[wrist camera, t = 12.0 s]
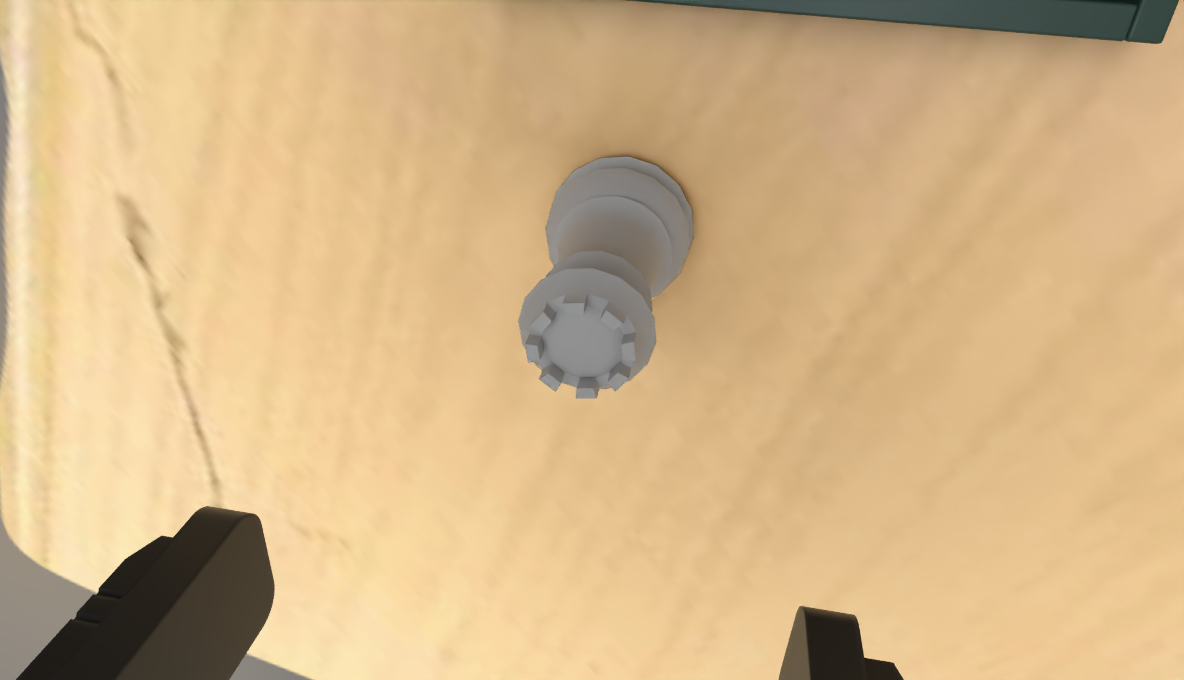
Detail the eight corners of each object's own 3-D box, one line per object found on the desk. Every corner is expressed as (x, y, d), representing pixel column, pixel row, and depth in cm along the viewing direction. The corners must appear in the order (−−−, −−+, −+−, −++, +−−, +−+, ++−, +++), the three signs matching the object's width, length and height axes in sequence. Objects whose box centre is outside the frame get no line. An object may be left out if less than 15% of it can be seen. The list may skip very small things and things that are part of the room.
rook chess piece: (547, 275, 26) (481, 416, 19) (556, 141, 23) (484, 247, 17) (683, 295, 25) (665, 446, 19) (705, 161, 23) (694, 277, 16)
